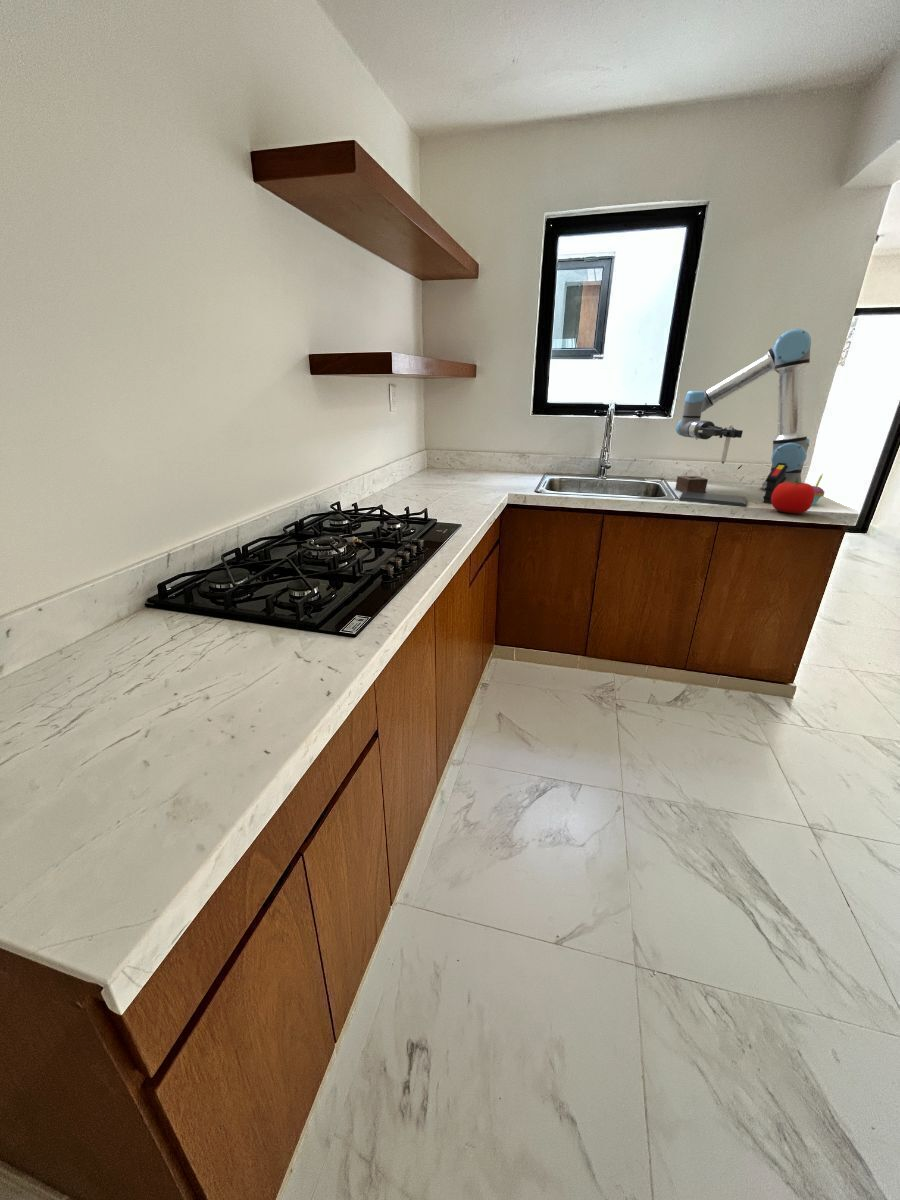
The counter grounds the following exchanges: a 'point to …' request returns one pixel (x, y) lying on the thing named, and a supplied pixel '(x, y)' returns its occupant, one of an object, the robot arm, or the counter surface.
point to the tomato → (792, 497)
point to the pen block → (691, 484)
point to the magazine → (775, 480)
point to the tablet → (713, 498)
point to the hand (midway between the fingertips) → (738, 434)
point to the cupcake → (817, 492)
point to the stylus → (726, 446)
